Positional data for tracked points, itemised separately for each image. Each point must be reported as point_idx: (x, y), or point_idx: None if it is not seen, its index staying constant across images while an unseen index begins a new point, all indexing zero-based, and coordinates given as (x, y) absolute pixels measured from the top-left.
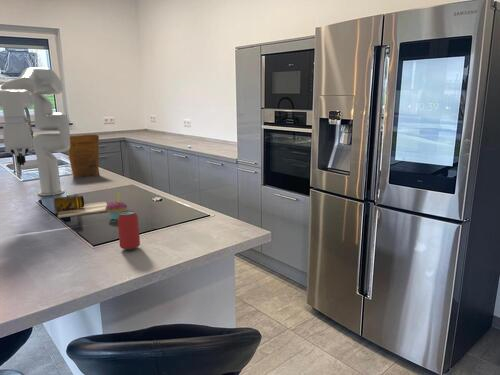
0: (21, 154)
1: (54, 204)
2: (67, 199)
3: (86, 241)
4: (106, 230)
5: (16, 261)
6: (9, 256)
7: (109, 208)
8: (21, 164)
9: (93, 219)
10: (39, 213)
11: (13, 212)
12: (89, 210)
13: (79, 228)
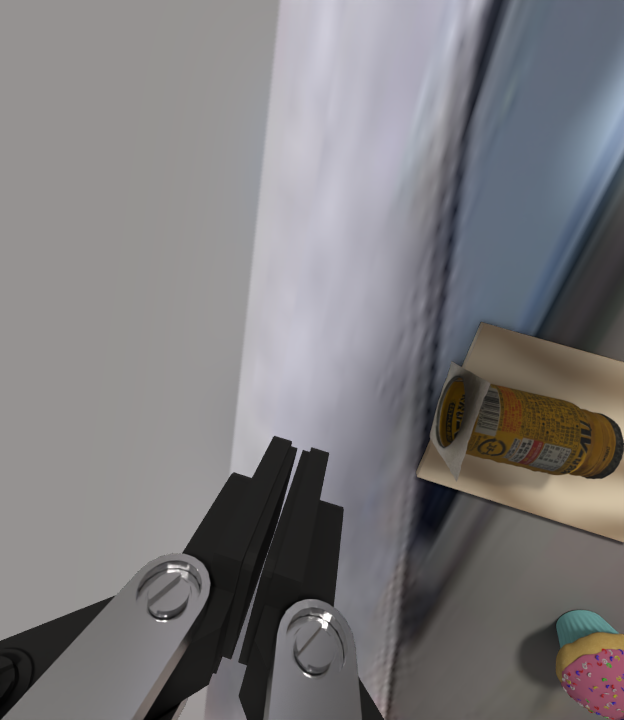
0: (248, 690)
1: (460, 376)
2: (515, 463)
3: (383, 710)
4: (468, 688)
5: (227, 694)
6: (219, 664)
7: (566, 689)
8: (275, 528)
9: (505, 580)
10: (383, 344)
11: (294, 231)
12: (560, 493)
13: (418, 623)
